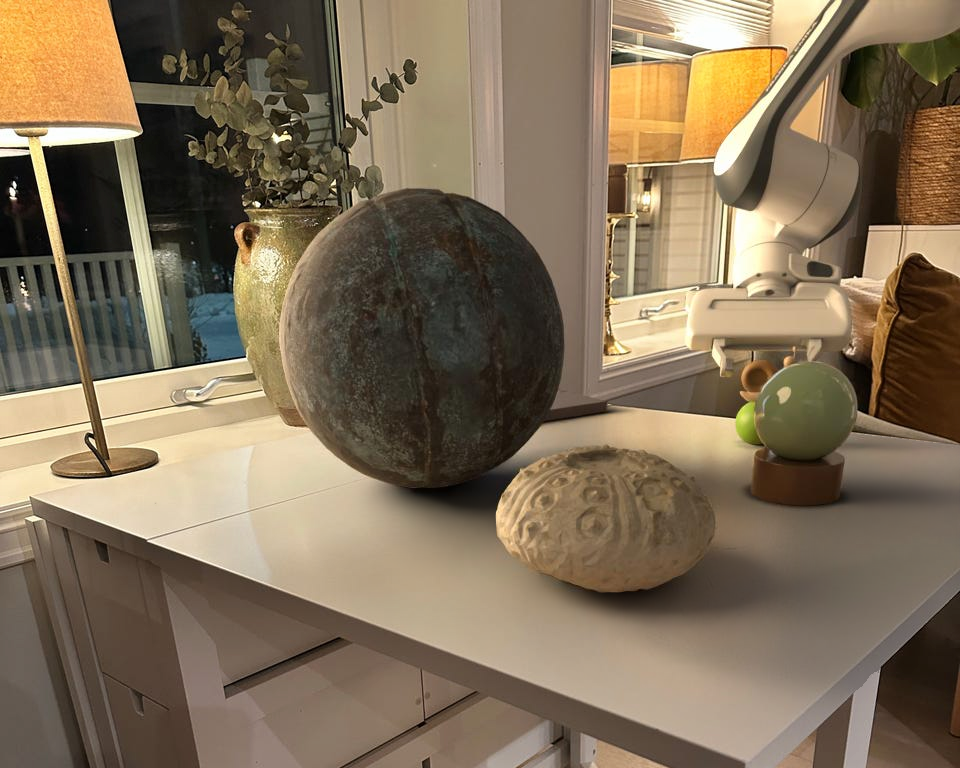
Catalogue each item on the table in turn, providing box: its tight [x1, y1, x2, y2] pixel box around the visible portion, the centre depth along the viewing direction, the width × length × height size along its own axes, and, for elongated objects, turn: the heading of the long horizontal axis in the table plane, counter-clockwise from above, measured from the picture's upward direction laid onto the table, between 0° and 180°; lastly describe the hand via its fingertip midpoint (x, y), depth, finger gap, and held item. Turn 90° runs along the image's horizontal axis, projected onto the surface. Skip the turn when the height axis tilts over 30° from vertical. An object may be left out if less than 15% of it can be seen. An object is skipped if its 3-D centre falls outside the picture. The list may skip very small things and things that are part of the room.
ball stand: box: [750, 360, 859, 506], centre depth 94 cm, size 10×10×14 cm
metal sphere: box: [278, 187, 565, 489], centre depth 97 cm, size 30×30×30 cm
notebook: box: [543, 388, 608, 422], centre depth 136 cm, size 13×2×21 cm
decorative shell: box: [495, 443, 716, 593], centre depth 75 cm, size 18×18×10 cm
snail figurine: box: [734, 346, 797, 445], centre depth 114 cm, size 5×6×12 cm
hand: (765, 375), depth 115 cm, fingers open, 8 cm apart
